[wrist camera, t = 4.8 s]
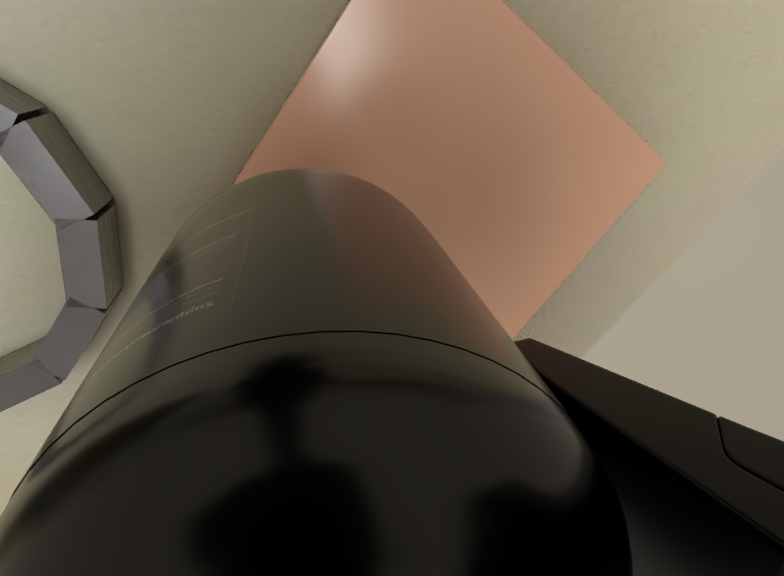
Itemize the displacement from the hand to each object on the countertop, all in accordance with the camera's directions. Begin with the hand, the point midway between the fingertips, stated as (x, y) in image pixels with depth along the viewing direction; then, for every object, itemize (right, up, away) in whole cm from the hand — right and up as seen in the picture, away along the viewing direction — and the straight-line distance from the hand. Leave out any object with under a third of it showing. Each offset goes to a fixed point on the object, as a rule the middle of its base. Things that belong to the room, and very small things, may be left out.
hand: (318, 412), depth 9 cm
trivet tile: (+3, +6, +11) cm, 13 cm away
